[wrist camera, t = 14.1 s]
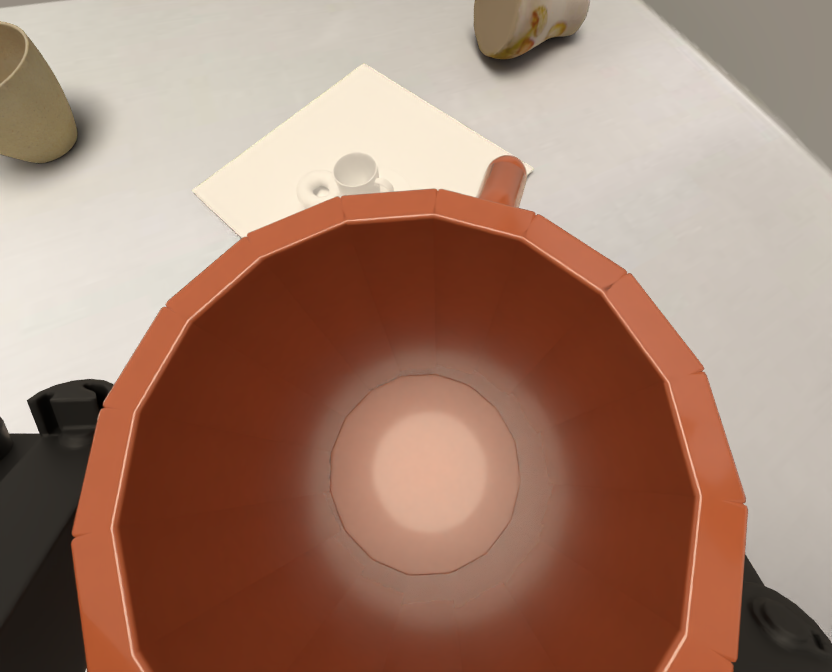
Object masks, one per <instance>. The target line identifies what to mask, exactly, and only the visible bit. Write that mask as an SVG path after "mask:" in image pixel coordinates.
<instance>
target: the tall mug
mask: <svg viewBox="0 0 832 672" xmlns="http://www.w3.org/2000/svg"><path fill="white" fill-rule="evenodd" d="M526 180H527V171H526V168H525V165H524V164H523V162H522V161H521V160H520V159H518V158H517V157H515V156H511V155H503V156H500V157H497V158H496V159H494V160H493V161H492V162H491V163H490V164H489V165H488V167H487V169H486V171H485V173H484V176H483V179H482V181H481V184H480V187H479V189H478V192H477V195H476V197H473V196H469V195H465V194H461V193H457V192H453V191H449V190H445V189H439V190H438V191H437V189H434V188H433V189H420V190H407V191H394V192H382V193H369V194H356V195H344V196H341V198H340V197H339V196H336V197H334V198H331V199H329V200H327V201H324V202H322V203H319V204H317V205H315V206H312V207H310V208H307V209H305V210H302V211H300V212H298V213H295V214H293V215H290V216H288V217H286V218H283V219H281V220H278V221H276V222H274V223H271V224H269V225H266V226H264V227H261V228H259V229H257V230H254V231H252V232H249V233H248V234H247V237H242V238H241V239H240V240H239V241H238V242H237V243H235V244H234V245H233V246H232V247H231V248H230V249H228V250H227V251H226V252H225V253H224V254H222V255H221V256H220V257H219V258H218V259H217V260H215V261H214V262H213V263H212V264H211V265H210V266H208V267H207V268H206V269H205V270H204V271H203V272H201V273H200V274H199V275H198V276H197V277H195V278H194V279H193V280H192V281H191V282H190V283H188V284H187V285H186V286H185V287H184V288H183V289H181V290H180V291H179V292H178V293H177V294H175V295H174V296H173V297H172V298H171V299H170V300H168V301H167V303H166V307H162V308H161V309H160V311H159V313H158V314H157V316H156V317H155V319H154V321H153V322H152V324H151V326H150V327H149V329H148V330H147V332H146V334H145V335H144V337H143V339H142V340H141V342H140V343H139V345H138V347H137V348H136V350H135V352H134V353H133V355H132V356H131V358H130V360H129V361H128V363H127V364H126V366H125V368H124V369H123V371H122V373H121V374H120V376H119V377H118V379H117V381H116V382H115V384H114V386H113V387H112V389H111V390H110V392H109V394H108V395H107V397H106V399H105V400H104V402H103V406H104V407H105V408H103V409H101V410H100V412H99V415H98V419H97V424H96V428H95V432H94V437H93V441H92V445H91V450H90V454H89V458H88V463H87V467H86V471H85V476H84V480H83V484H82V489H81V493H80V497H79V502H78V506H77V510H76V515H75V519H74V523H73V528H72V532H71V533H72V536H73V537H75V538H74V539H73V540H72V541H71V551H72V559H73V566H74V574H75V582H76V589H77V597H78V605H79V612H80V620H81V628H82V635H83V643H84V651H85V658H86V666H87V672H733V670H734V666H733V664H732V663H731V662H736V661H737V659H738V646H739V632H740V618H741V603H742V589H743V575H744V560H745V546H746V531H747V517H748V509H747V506H745V505H744V504H743V503H745V502H746V497H745V494H744V491H743V488H742V485H741V481H740V478H739V475H738V472H737V469H736V466H735V463H734V459H733V456H732V453H731V450H730V447H729V444H728V441H727V438H726V434H725V431H724V428H723V425H722V422H721V419H720V416H719V412H718V409H717V406H716V403H715V400H714V397H713V394H712V390H711V387H710V384H709V381H708V378H707V375H706V374H705V372H702V371H703V370H704V367H703V365H702V364H701V363H700V361H699V360H698V359H697V358H696V356H695V355H694V354H693V352H692V351H691V350H690V349H689V347H688V346H687V345H686V343H685V342H684V341H683V339H682V338H681V337H680V336H679V334H678V333H677V332H676V330H675V329H674V328H673V327H672V325H671V324H670V323H669V321H668V320H667V319H666V318H665V316H664V315H663V314H662V312H661V311H660V310H659V309H658V307H657V306H656V305H655V303H654V302H653V301H652V300H651V298H650V297H649V296H648V294H647V293H646V292H645V291H644V289H643V288H642V287H641V285H640V284H639V283H638V282H637V280H636V279H635V278H634V276H633V275H632V274H631V273H628V274H627V271H626V270H625V269H624V268H622V267H620V266H619V265H617V264H616V263H614V262H613V261H611V260H610V259H608V258H606V257H605V256H603V255H602V254H600V253H599V252H597V251H596V250H594V249H593V248H591V247H589V246H588V245H586V244H585V243H583V242H582V241H580V240H579V239H577V238H576V237H574V236H572V235H571V234H569V233H568V232H566V231H565V230H563V229H562V228H560V227H558V226H557V225H555V224H554V223H552V222H551V221H549V220H548V219H546V218H545V217H543V216H541V215H539V214H537V215H535V213H534V212H533V211H529V210H525V209H521V208H519V204H520V201H521V198H522V195H523V191H524V188H525V185H526Z"/></svg>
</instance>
